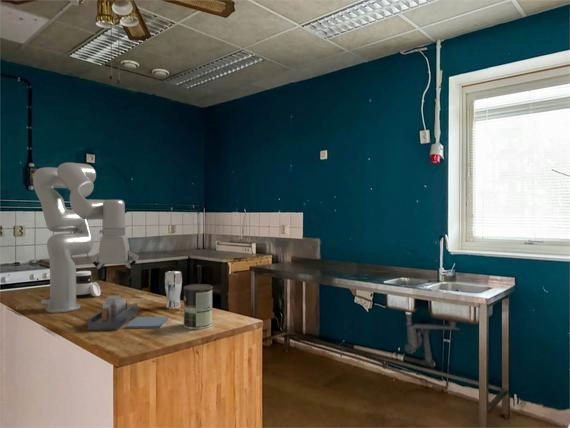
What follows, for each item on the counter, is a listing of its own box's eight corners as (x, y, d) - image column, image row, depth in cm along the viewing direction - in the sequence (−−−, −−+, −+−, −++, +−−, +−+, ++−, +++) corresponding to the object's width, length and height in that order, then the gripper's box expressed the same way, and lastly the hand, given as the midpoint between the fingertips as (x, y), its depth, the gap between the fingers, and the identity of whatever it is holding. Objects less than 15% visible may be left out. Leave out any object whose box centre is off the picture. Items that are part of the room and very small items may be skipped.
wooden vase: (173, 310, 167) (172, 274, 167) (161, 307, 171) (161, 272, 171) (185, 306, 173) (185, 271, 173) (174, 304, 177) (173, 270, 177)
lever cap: (116, 316, 146) (116, 298, 146) (102, 316, 146) (102, 299, 146) (125, 310, 155) (125, 293, 155) (112, 310, 155) (112, 293, 155)
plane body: (117, 330, 140) (117, 310, 140) (87, 330, 139) (87, 310, 139) (137, 313, 162) (137, 296, 162) (112, 313, 161) (112, 296, 161)
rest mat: (125, 328, 142) (125, 326, 142) (136, 319, 154) (136, 316, 154) (159, 328, 142) (159, 325, 142) (167, 318, 154) (167, 316, 154)
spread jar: (74, 294, 196) (74, 271, 196) (99, 292, 201) (99, 269, 201) (74, 300, 185) (73, 274, 185) (101, 297, 190) (101, 273, 190)
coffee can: (180, 329, 140) (180, 289, 140) (186, 321, 151) (186, 283, 150) (210, 329, 141) (210, 289, 141) (214, 321, 151) (214, 283, 151)
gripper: (86, 233, 146) (87, 281, 146) (134, 232, 146) (135, 279, 146) (94, 232, 153) (95, 277, 153) (141, 231, 154) (141, 276, 154)
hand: (115, 278), depth 150 cm, fingers open, 9 cm apart
